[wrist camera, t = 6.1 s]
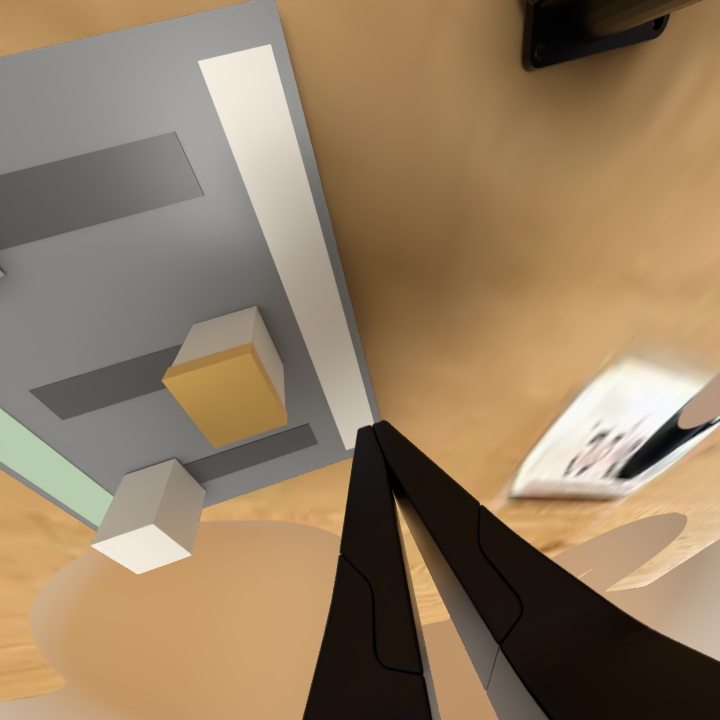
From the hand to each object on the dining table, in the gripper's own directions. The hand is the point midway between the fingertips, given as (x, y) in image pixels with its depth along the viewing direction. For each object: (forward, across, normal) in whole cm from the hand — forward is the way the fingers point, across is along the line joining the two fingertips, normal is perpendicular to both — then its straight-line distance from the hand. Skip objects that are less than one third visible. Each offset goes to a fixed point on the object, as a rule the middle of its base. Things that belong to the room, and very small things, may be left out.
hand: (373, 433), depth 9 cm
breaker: (+8, +13, +8) cm, 17 cm away
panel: (+10, +9, 0) cm, 13 cm away
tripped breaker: (+8, +5, 0) cm, 10 cm away
